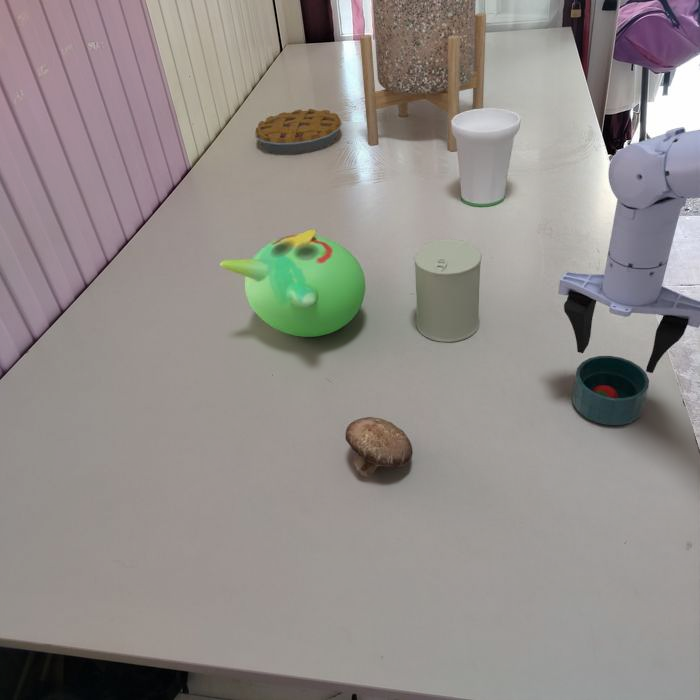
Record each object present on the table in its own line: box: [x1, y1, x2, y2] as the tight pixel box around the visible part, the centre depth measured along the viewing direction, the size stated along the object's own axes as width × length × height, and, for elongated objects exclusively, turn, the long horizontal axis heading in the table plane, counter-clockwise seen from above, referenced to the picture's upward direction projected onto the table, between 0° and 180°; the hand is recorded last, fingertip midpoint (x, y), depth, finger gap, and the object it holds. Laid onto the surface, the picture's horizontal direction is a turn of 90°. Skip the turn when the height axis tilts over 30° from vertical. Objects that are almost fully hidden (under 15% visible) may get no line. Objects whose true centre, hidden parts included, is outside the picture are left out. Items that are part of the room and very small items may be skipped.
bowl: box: [571, 355, 650, 426], centre depth 76 cm, size 8×8×4 cm
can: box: [413, 239, 482, 343], centre depth 90 cm, size 9×9×12 cm
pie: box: [254, 108, 343, 155], centre depth 158 cm, size 22×22×5 cm
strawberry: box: [592, 385, 618, 398], centre depth 76 cm, size 3×3×4 cm
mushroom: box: [344, 416, 414, 478], centre depth 73 cm, size 8×8×6 cm
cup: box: [451, 107, 522, 208], centre depth 120 cm, size 12×12×15 cm
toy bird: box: [219, 228, 366, 338], centre depth 92 cm, size 18×17×15 cm
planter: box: [359, 0, 487, 152], centre depth 146 cm, size 22×23×32 cm
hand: (616, 357), depth 73 cm, fingers open, 7 cm apart
